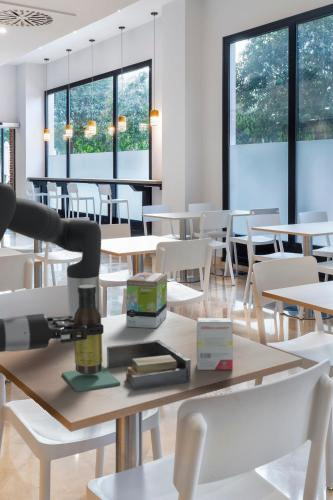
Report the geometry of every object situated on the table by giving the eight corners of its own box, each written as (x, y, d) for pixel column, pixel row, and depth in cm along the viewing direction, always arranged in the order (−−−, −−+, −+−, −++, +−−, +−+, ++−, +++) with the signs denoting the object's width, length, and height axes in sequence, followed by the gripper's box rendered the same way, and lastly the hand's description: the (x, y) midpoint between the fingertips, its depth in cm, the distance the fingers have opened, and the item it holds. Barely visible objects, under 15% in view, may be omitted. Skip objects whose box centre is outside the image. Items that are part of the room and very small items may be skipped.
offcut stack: (125, 378, 137) (125, 359, 136) (169, 372, 141) (169, 353, 141) (135, 387, 131) (135, 367, 130) (180, 380, 136) (180, 361, 135)
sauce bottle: (85, 365, 141) (84, 282, 139) (107, 369, 138) (107, 284, 136) (69, 372, 135) (67, 286, 133) (92, 377, 133) (91, 289, 130)
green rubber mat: (62, 374, 140) (62, 372, 139) (103, 368, 144) (103, 366, 144) (76, 391, 129) (76, 389, 129) (120, 384, 133) (120, 382, 133)
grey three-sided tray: (107, 366, 145) (106, 346, 145) (158, 359, 151) (158, 339, 150) (133, 390, 129) (133, 368, 129) (190, 381, 135) (190, 359, 134)
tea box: (157, 329, 180) (157, 280, 178) (125, 327, 182) (124, 279, 180) (167, 317, 194) (167, 272, 192) (137, 315, 196) (137, 271, 194)
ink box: (231, 363, 147) (231, 316, 146) (232, 370, 142) (233, 322, 141) (196, 363, 147) (196, 316, 146) (196, 370, 143) (197, 321, 141)
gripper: (31, 323, 123) (108, 315, 129) (17, 308, 136) (88, 302, 142) (31, 358, 124) (108, 349, 130) (18, 341, 137) (89, 333, 143)
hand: (98, 325), depth 136 cm, fingers closed on sauce bottle, 6 cm apart
